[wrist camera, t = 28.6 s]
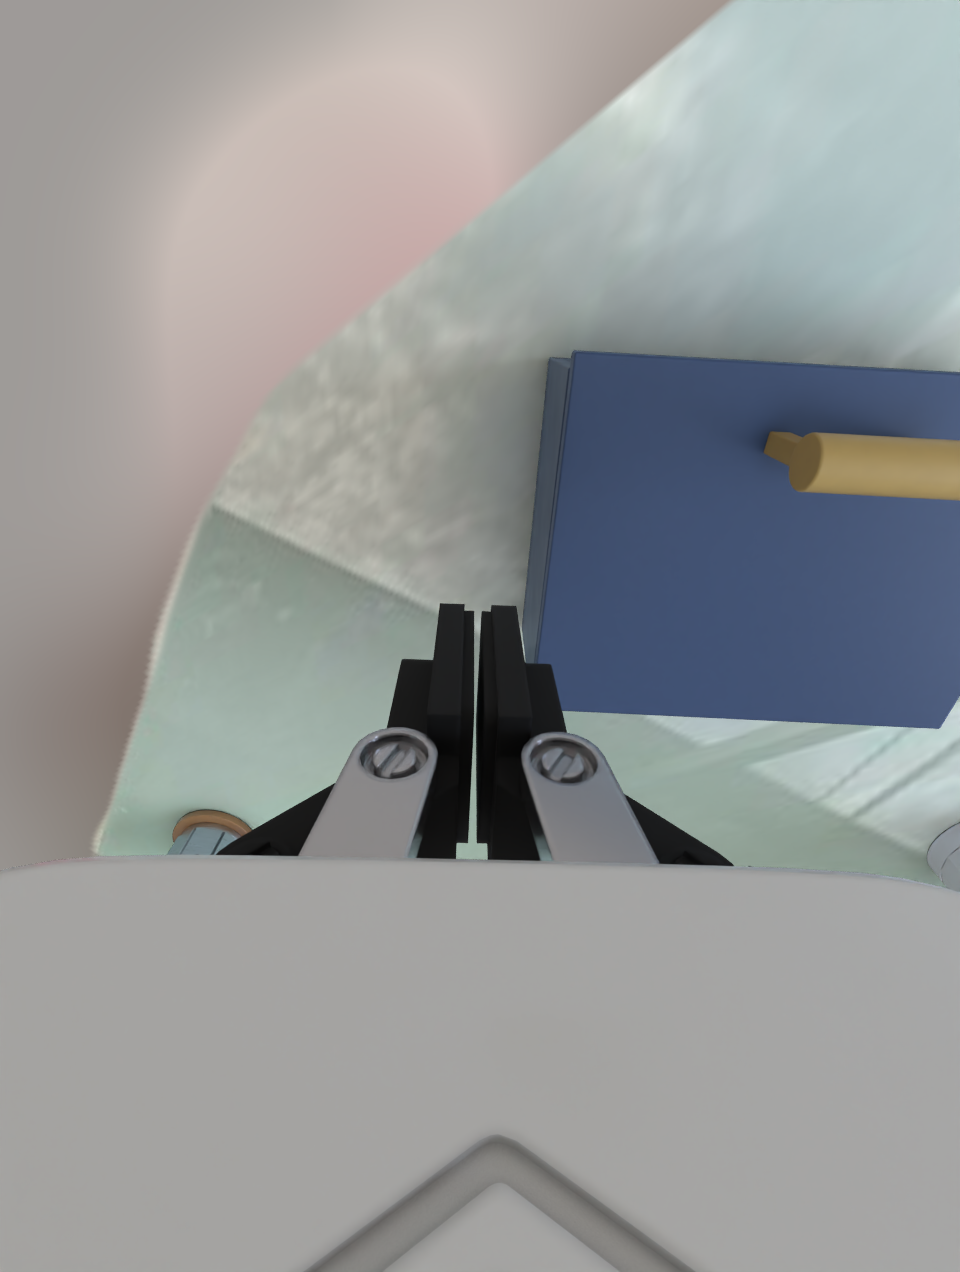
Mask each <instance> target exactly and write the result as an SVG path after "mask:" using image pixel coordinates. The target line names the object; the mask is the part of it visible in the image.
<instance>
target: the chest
mask: <svg viewBox="0 0 960 1272" xmlns="http://www.w3.org/2000/svg"><path fill="white" fill-rule="evenodd" d="M570 365H571V359H570V358H553V357H550V358H549V361H548V371H547V381H546V391H545V401H544V411H543V421H542V431H541V441H540V451H539V461H538V471H537V482H536V492H535V502H534V512H533V522H532V532H531V542H530V552H529V562H528V572H527V582H526V592H525V602H524V612H523V622H522V632H523V641H524V650H525V659H526V663H535V656H536V647H537V639H538V631H539V623H540V614H541V606H542V598H543V589H544V581H545V573H546V564H547V556H548V548H549V539H550V531H551V523H552V515H553V506H554V498H555V490H556V481H557V473H558V465H559V456H560V448H561V440H562V432H563V423H564V415H565V407H566V398H567V390H568V382H569V373H570Z"/></svg>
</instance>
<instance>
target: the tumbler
mask: <svg viewBox="0 0 960 1272" xmlns="http://www.w3.org/2000/svg"><path fill="white" fill-rule="evenodd" d="M240 837H241V835H240V834H239V833H237V832H236V831H235V830H233V829H231V828H229V827H227V826H224V825H221V824H217V823H209V822H204V823H197V824H194V825H191V826H189V827H188V828H186V829H185V830H184V832H183V833H182V835H180V836H178V837H177V839H176V841H175V842H174V844H173V845H172V847H171V849H170V850H169V852H168V854H167V855H195V854H199V855H216V854H217V853H218V852H219V851H220V850H221V849H223V848H224V847H226V846H227V845H228V844H230V843H231V842H233V841H234V840H236V839H238V838H240Z"/></svg>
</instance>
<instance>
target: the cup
mask: <svg viewBox="0 0 960 1272" xmlns="http://www.w3.org/2000/svg"><path fill="white" fill-rule="evenodd" d="M927 861H928V864H929V866H930V867H931V869H932V870H933V871H934V872H935V873H936V875H937V876H938V877H939V878H940V880H941V881H942V882H943V883H944V885H945V886H946V888H948V889H951V890H954V891H957V892H960V823H959V824H957V825H955V826H953V827H951V828H950V829H948V830H946V831H945V832H944V833H942V834H941V835H940V836H939V837H938V838H937V839H936V840H935V841H934V842H933V844H932V845H931V847H930V848H929V851H928V854H927Z"/></svg>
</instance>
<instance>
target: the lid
mask: <svg viewBox="0 0 960 1272" xmlns="http://www.w3.org/2000/svg"><path fill="white" fill-rule="evenodd" d="M535 663H538V664H551V666H552V669H553V674H554V678H555V682H556V687H557V691H558V696H559V700H560V704H561V709H562V711H579V712H600V713H621V714H642V715H663V716H684V717H705V718H726V719H746V720H767V721H788V722H809V723H830V724H851V725H872V726H893V727H914V728H935V729H939V728H940V727H941V726H942V724H943V722H944V721H945V719H946V718H947V716H948V714H949V713H950V711H951V709H952V708H953V706H954V705H955V703H956V701H957V700H958V698H959V696H960V372H945V371H928V370H910V369H893V368H875V367H858V366H840V365H823V364H805V363H788V362H770V361H753V360H735V359H717V358H700V357H682V356H665V355H647V354H630V353H612V352H595V351H577V350H574V351H573V352H572V357H571V365H570V373H569V382H568V390H567V398H566V407H565V415H564V423H563V432H562V440H561V448H560V456H559V465H558V473H557V481H556V490H555V498H554V506H553V515H552V523H551V531H550V539H549V548H548V556H547V564H546V573H545V581H544V589H543V598H542V606H541V614H540V623H539V631H538V639H537V647H536V656H535Z"/></svg>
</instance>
